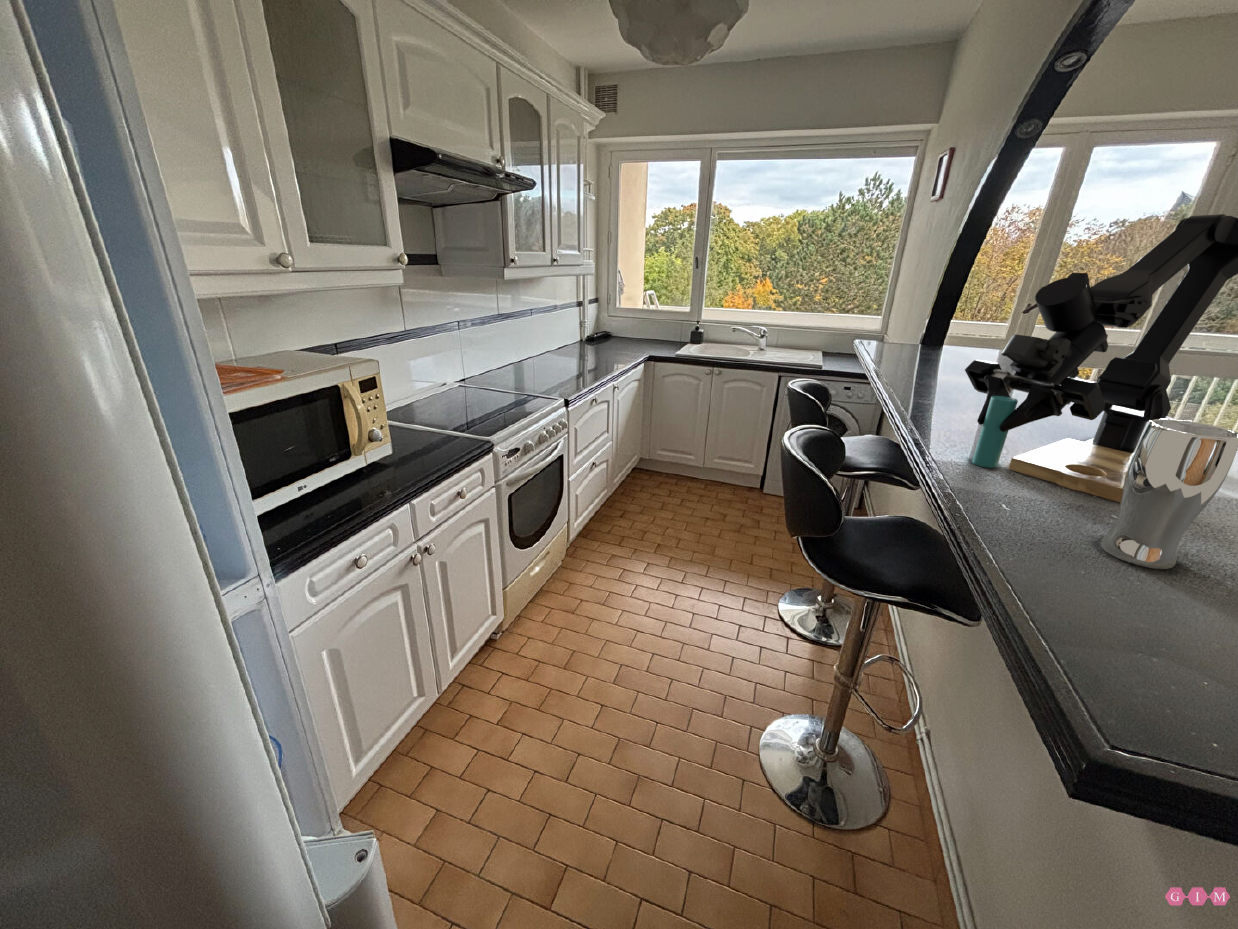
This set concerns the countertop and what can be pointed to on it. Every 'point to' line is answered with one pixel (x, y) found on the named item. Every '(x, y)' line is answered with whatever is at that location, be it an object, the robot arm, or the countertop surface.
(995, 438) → the peg
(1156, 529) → the beer glass
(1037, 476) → the board
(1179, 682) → the countertop surface
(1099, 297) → the robot arm
